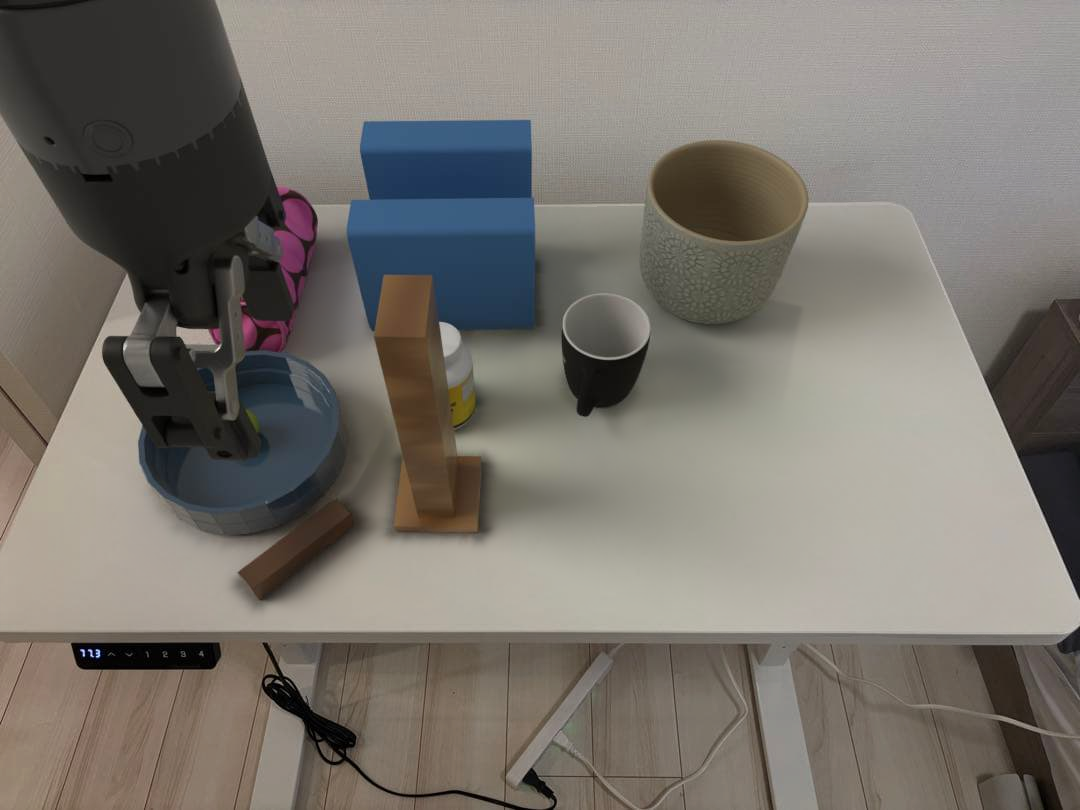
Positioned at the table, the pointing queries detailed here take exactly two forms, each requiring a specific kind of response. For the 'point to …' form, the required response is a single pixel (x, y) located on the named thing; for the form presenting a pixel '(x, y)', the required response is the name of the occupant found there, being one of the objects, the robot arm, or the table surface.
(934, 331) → the table surface
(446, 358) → the pill bottle
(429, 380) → the stand
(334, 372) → the table surface
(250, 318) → the pencil case
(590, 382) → the mug
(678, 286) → the planter
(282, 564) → the stick
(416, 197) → the block
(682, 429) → the table surface
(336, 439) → the bowl
